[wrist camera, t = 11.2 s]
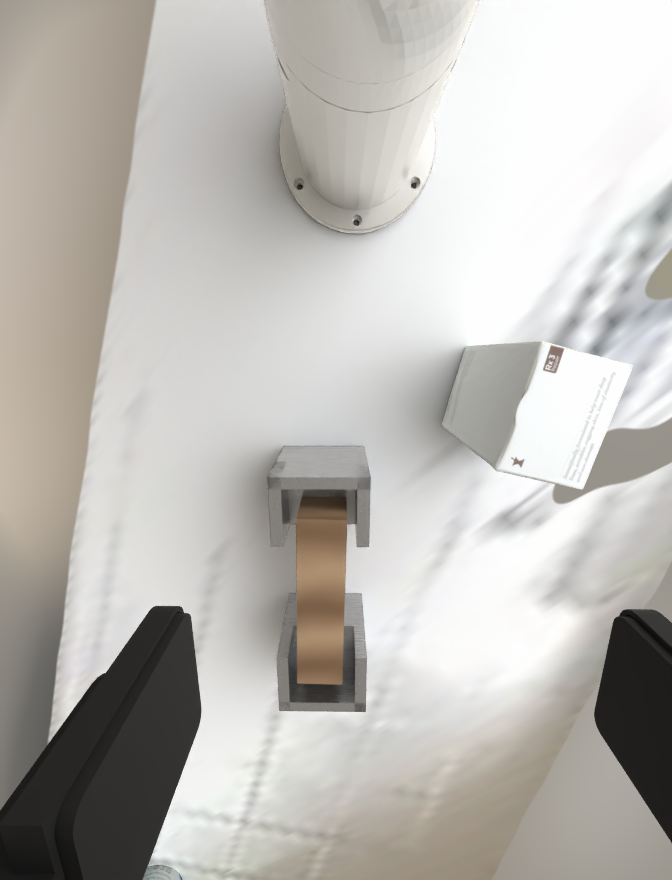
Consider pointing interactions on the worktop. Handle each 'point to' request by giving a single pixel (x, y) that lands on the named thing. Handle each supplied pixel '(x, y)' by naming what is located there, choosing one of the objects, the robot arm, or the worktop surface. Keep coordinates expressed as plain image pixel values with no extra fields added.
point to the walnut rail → (321, 588)
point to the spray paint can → (161, 873)
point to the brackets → (350, 478)
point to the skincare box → (535, 408)
